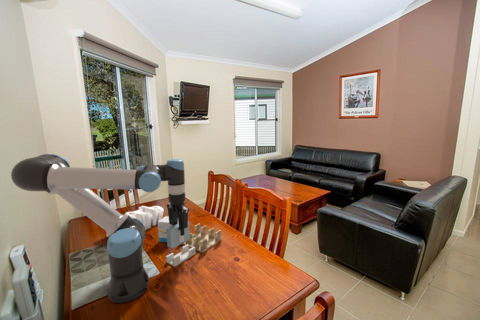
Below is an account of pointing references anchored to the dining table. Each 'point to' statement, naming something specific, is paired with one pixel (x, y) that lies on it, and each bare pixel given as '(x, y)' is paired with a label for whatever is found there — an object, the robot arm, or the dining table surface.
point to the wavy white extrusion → (147, 215)
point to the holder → (180, 256)
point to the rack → (203, 238)
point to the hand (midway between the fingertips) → (178, 240)
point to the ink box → (163, 228)
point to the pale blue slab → (176, 235)
